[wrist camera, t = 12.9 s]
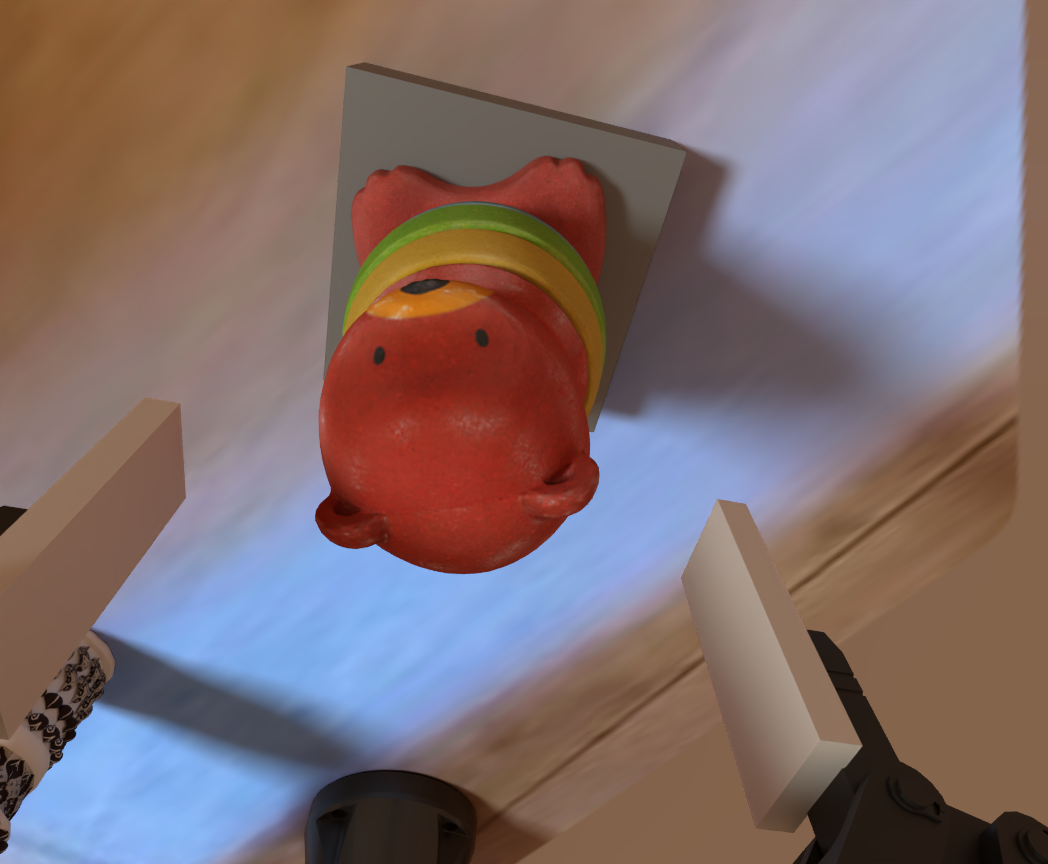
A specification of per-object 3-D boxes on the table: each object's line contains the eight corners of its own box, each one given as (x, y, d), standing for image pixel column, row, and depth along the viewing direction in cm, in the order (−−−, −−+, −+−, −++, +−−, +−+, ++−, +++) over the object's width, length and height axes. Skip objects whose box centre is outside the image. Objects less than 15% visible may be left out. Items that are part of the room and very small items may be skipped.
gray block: (587, 395, 38) (593, 432, 34) (342, 346, 36) (323, 379, 33) (668, 137, 30) (687, 151, 27) (367, 61, 29) (346, 66, 25)
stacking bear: (604, 150, 27) (719, 245, 11) (605, 376, 32) (686, 662, 16) (345, 167, 27) (108, 282, 12) (384, 388, 32) (253, 681, 16)
